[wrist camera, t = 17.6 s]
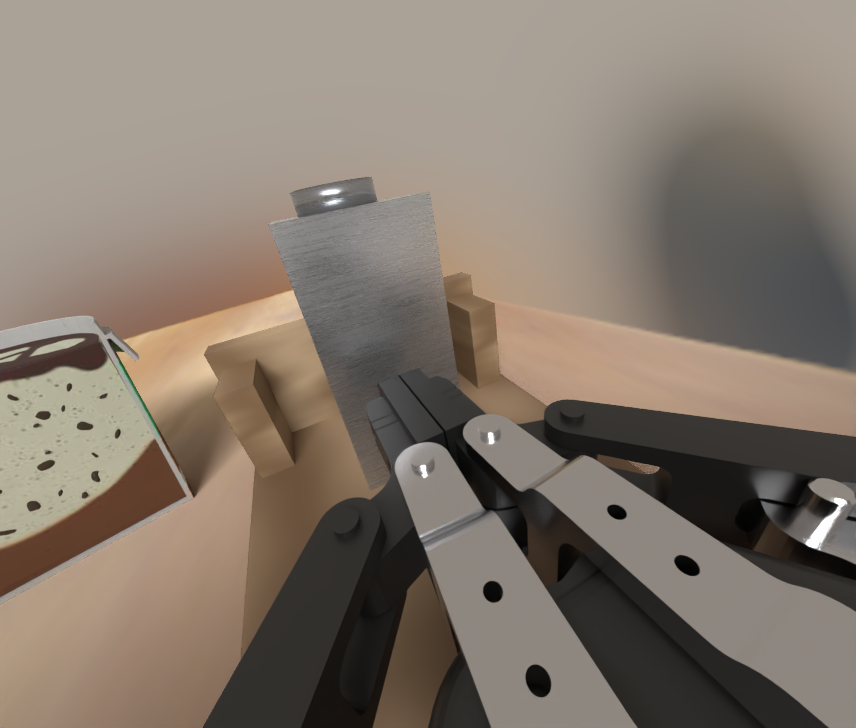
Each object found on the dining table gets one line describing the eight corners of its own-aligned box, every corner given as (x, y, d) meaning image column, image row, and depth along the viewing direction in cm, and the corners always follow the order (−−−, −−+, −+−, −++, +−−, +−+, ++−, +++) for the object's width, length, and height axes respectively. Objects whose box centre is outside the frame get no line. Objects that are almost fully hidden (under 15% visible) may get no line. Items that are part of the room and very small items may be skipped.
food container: (211, 433, 23) (123, 297, 18) (223, 481, 18) (109, 316, 13) (-47, 555, 17) (-279, 401, 12) (-124, 672, 12) (-546, 499, 8)
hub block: (370, 490, 14) (256, 192, 9) (345, 419, 19) (263, 201, 14) (468, 445, 16) (425, 162, 10) (421, 389, 21) (375, 181, 15)
